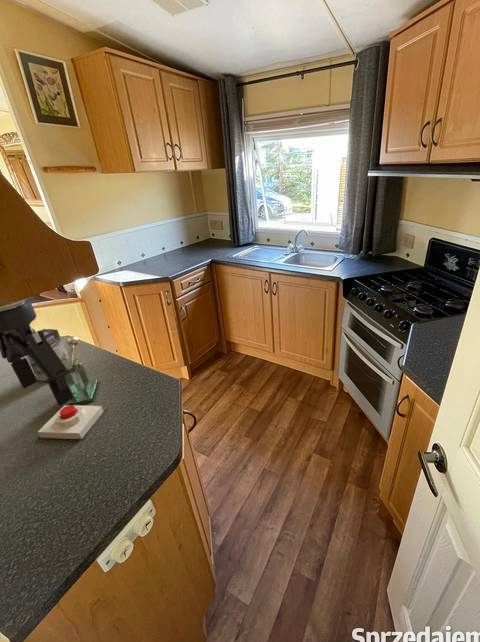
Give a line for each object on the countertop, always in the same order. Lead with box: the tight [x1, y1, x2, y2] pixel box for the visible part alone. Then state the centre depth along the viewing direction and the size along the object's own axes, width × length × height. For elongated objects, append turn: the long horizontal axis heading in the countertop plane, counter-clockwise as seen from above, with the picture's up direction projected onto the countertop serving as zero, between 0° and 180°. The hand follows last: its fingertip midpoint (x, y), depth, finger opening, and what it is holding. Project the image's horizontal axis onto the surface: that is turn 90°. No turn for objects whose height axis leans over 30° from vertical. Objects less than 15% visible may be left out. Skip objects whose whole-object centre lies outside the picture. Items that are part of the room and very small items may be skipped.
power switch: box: [61, 356, 99, 407], centre depth 91 cm, size 10×8×13 cm
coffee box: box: [26, 328, 69, 382], centre depth 102 cm, size 9×6×16 cm
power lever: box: [65, 336, 80, 374], centre depth 93 cm, size 13×3×3 cm, turn 20°
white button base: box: [37, 404, 105, 440], centre depth 82 cm, size 12×10×4 cm
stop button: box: [60, 405, 77, 419], centre depth 81 cm, size 4×4×2 cm
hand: (47, 392), depth 64 cm, fingers open, 13 cm apart
